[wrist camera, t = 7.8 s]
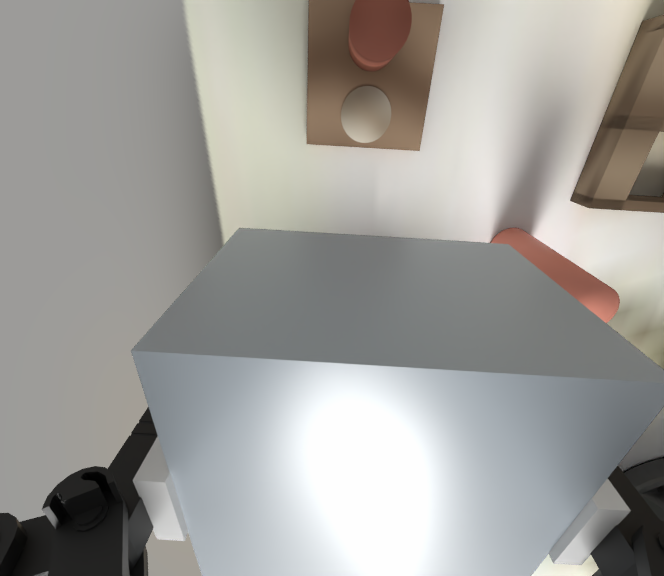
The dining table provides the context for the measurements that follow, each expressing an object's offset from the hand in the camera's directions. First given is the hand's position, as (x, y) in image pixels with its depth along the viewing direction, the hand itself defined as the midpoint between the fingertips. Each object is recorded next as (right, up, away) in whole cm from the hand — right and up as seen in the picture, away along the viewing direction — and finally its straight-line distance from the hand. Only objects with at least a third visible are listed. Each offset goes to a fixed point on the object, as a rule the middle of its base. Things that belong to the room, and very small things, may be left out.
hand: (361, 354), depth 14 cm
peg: (+14, +6, +13) cm, 20 cm away
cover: (0, 0, +1) cm, 1 cm away
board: (+1, +17, +8) cm, 19 cm away
